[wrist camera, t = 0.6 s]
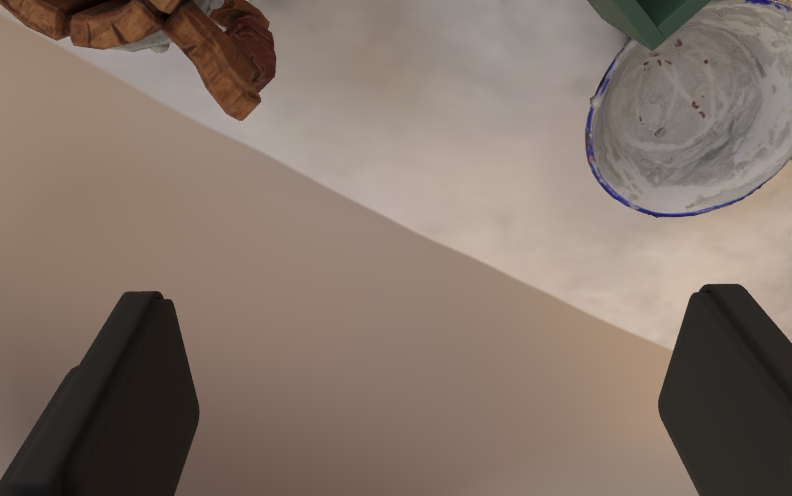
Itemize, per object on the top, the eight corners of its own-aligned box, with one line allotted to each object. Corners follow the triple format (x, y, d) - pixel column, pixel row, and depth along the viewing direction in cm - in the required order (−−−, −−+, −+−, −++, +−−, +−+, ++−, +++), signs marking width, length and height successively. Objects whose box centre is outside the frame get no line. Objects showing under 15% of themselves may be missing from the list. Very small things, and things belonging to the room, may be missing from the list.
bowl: (567, 199, 42) (587, 234, 38) (564, 4, 36) (588, 20, 31) (760, 170, 41) (802, 203, 37) (793, -35, 35) (849, -24, 31)
